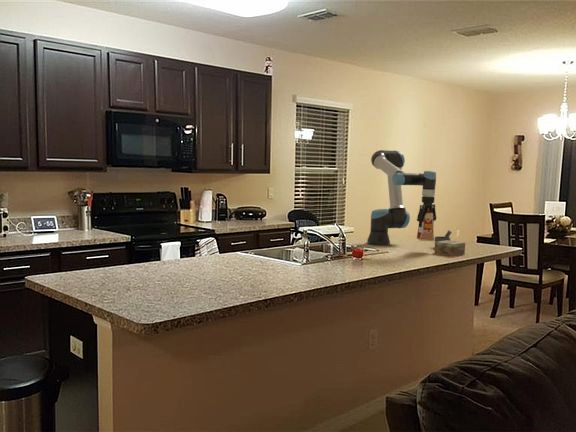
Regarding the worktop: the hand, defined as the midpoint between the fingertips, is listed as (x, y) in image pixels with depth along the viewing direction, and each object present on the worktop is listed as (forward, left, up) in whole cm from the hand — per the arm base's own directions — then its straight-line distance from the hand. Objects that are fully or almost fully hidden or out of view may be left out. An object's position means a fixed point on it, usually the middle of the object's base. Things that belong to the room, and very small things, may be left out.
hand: (425, 231), depth 327 cm
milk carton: (0, 0, -5) cm, 5 cm away
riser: (+12, +8, -13) cm, 19 cm away
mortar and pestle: (-3, +26, -13) cm, 29 cm away
